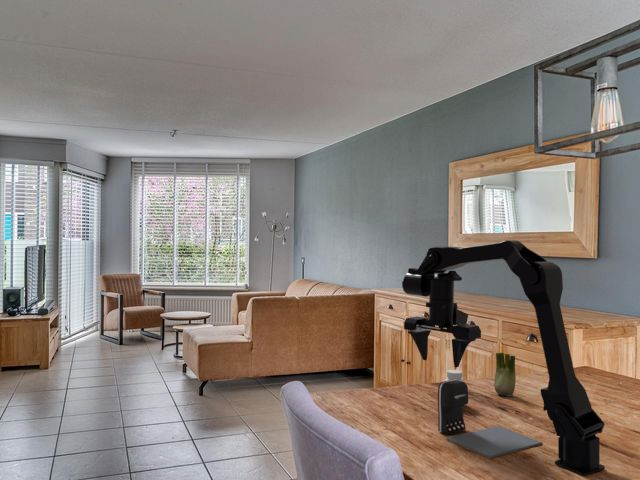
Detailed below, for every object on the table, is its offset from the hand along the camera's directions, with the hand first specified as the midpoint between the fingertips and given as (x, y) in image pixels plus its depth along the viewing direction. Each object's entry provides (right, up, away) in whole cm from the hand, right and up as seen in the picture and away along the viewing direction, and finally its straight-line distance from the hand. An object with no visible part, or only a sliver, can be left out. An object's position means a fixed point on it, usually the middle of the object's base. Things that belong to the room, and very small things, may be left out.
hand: (440, 363), depth 130 cm
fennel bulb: (+23, -15, +24) cm, 36 cm away
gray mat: (+9, -14, -13) cm, 21 cm away
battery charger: (+2, -14, -7) cm, 16 cm away
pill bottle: (+7, -14, +14) cm, 21 cm away
